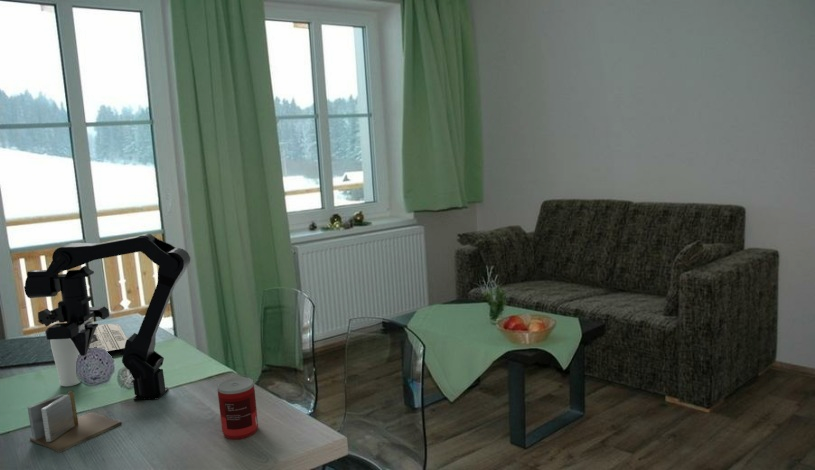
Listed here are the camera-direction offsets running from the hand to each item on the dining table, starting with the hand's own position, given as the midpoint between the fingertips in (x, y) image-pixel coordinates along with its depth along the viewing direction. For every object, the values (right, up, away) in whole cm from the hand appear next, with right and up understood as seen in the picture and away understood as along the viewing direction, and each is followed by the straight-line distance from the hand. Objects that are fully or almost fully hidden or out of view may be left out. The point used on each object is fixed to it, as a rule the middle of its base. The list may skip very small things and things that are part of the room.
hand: (83, 355), depth 161 cm
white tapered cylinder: (-11, -11, +14) cm, 21 cm away
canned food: (+45, -13, -20) cm, 51 cm away
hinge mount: (+6, -14, -16) cm, 22 cm away
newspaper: (-17, -6, +50) cm, 53 cm away
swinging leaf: (+4, -14, -18) cm, 23 cm away
